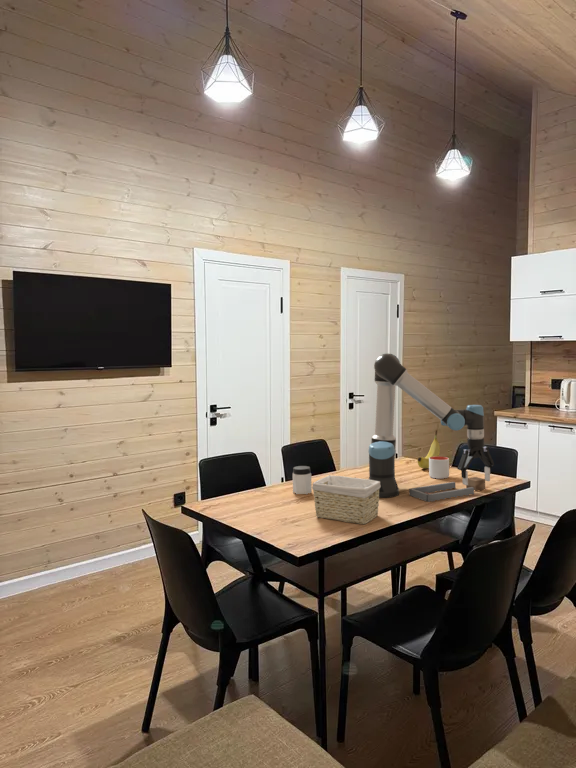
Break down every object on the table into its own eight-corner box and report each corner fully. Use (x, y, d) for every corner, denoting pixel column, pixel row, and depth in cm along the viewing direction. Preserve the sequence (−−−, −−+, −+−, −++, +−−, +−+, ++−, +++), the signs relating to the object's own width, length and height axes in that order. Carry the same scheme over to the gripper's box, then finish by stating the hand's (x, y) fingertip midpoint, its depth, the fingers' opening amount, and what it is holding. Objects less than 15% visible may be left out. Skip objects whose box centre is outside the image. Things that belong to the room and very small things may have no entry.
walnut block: (475, 491, 264) (475, 480, 263) (466, 488, 269) (466, 478, 269) (485, 489, 266) (485, 479, 266) (476, 487, 271) (476, 476, 271)
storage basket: (382, 515, 229) (382, 479, 228) (366, 527, 215) (365, 488, 214) (329, 508, 242) (329, 474, 241) (311, 518, 228) (310, 482, 227)
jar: (314, 493, 266) (313, 468, 266) (297, 495, 264) (297, 470, 263) (306, 489, 275) (306, 465, 274) (291, 491, 272) (290, 466, 271)
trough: (428, 501, 247) (427, 495, 247) (409, 495, 259) (409, 488, 259) (473, 494, 258) (473, 487, 258) (453, 488, 270) (453, 481, 270)
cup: (425, 476, 296) (424, 457, 295) (440, 474, 300) (440, 455, 299) (437, 480, 287) (437, 460, 286) (453, 478, 291) (453, 458, 290)
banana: (423, 471, 307) (423, 435, 306) (414, 470, 311) (413, 434, 310) (442, 464, 325) (442, 429, 323) (433, 463, 328) (432, 429, 327)
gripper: (460, 441, 257) (461, 487, 258) (501, 436, 268) (502, 480, 269) (449, 439, 264) (450, 484, 265) (489, 434, 275) (490, 477, 276)
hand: (476, 482), depth 267 cm, fingers open, 13 cm apart
